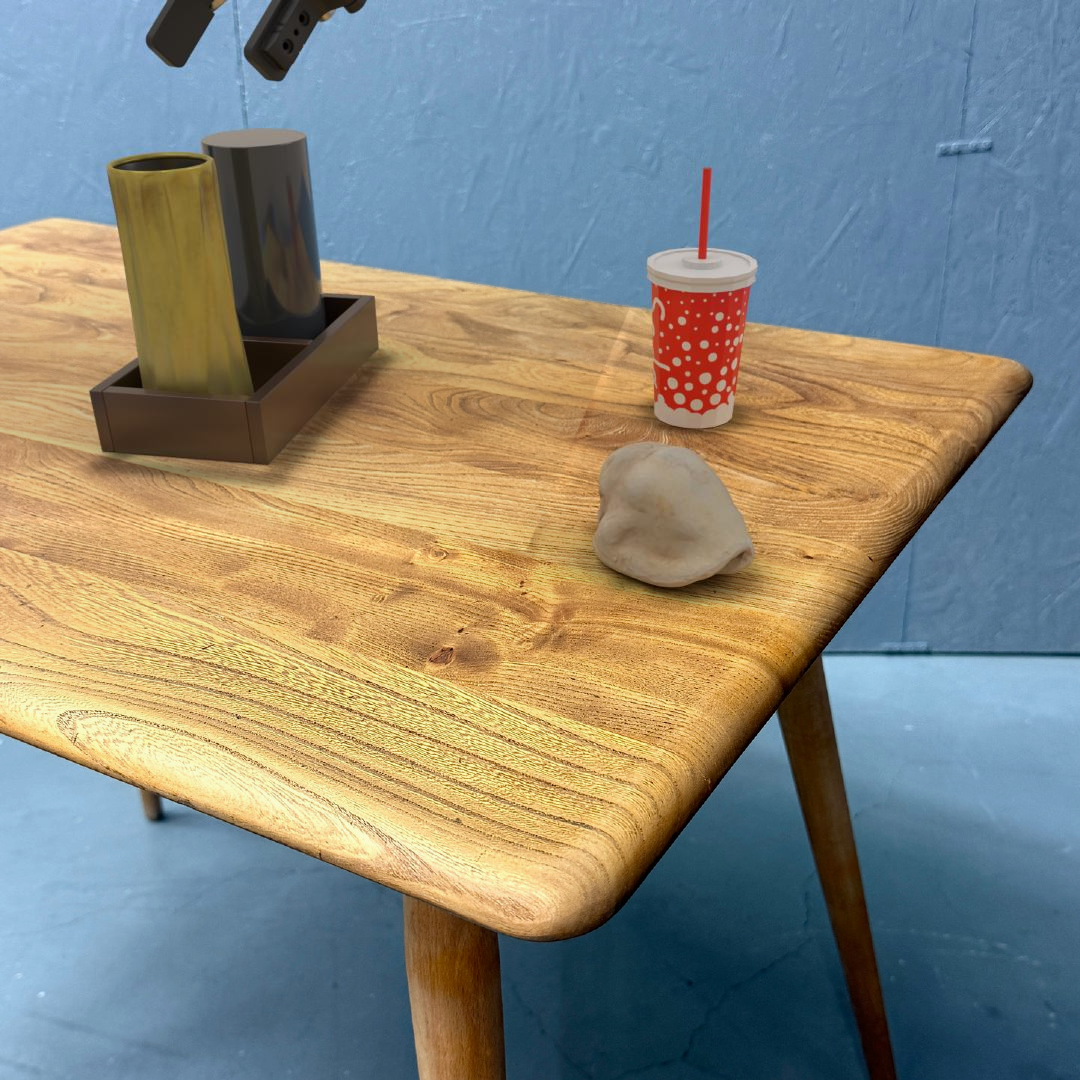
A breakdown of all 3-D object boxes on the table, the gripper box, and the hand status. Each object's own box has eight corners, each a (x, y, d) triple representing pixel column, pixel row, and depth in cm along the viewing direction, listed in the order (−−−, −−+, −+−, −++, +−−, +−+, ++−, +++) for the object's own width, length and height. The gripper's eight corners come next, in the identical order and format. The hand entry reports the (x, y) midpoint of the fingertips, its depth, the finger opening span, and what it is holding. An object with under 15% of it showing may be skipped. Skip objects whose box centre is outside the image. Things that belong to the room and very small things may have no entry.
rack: (103, 464, 63) (88, 390, 60) (245, 350, 78) (236, 288, 76) (269, 478, 61) (259, 402, 59) (380, 358, 77) (374, 295, 74)
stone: (730, 573, 57) (629, 447, 57) (800, 524, 51) (688, 385, 52) (639, 648, 53) (533, 513, 54) (704, 604, 48) (585, 455, 49)
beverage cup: (653, 388, 71) (663, 154, 64) (753, 399, 70) (773, 160, 63) (630, 426, 66) (637, 176, 59) (736, 439, 65) (756, 183, 58)
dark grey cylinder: (218, 382, 71) (181, 145, 64) (257, 349, 76) (227, 127, 69) (310, 388, 70) (282, 148, 63) (343, 354, 75) (321, 129, 68)
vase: (247, 445, 62) (206, 172, 55) (133, 447, 62) (78, 174, 55) (269, 402, 67) (234, 148, 60) (164, 403, 67) (118, 150, 60)
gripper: (231, -251, 61) (76, 3, 59) (416, -278, 52) (242, 16, 51) (321, -134, 67) (182, 100, 65) (500, -142, 58) (347, 126, 57)
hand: (209, 63), depth 58 cm, fingers open, 8 cm apart
